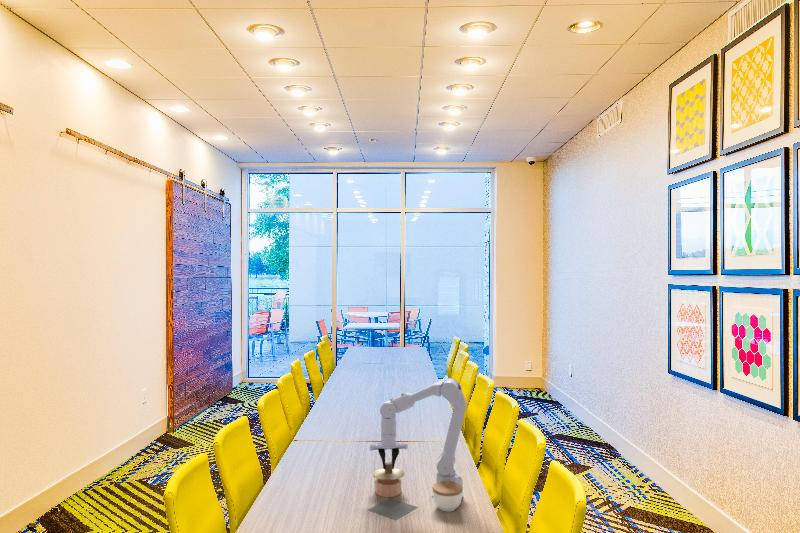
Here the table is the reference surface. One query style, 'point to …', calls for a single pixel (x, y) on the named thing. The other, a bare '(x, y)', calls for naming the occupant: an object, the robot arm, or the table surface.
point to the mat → (392, 508)
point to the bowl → (388, 487)
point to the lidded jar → (447, 495)
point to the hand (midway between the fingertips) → (388, 468)
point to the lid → (388, 473)
